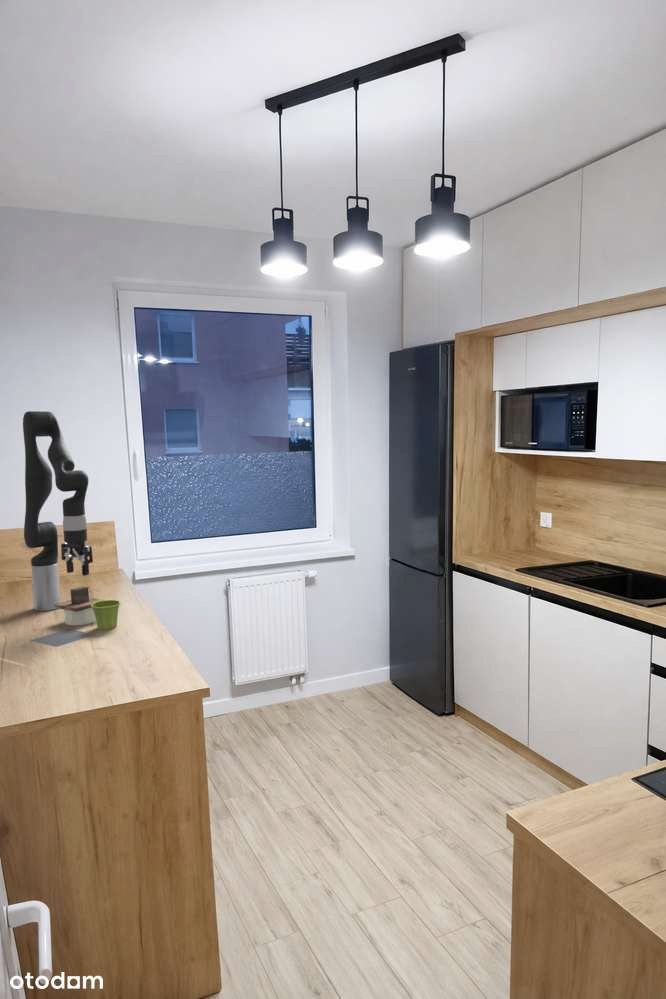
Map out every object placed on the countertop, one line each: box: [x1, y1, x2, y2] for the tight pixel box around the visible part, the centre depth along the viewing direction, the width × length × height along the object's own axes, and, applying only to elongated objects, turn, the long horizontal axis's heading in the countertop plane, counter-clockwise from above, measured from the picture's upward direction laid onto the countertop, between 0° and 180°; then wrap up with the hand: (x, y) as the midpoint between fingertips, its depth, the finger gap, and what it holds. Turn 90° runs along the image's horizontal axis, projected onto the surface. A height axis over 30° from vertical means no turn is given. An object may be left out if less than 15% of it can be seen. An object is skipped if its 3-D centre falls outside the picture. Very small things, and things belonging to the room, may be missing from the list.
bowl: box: [63, 608, 96, 626], centre depth 230 cm, size 10×10×6 cm
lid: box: [55, 585, 106, 612], centre depth 229 cm, size 12×12×6 cm
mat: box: [30, 628, 95, 648], centre depth 211 cm, size 14×14×1 cm
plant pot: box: [91, 599, 121, 631], centre depth 221 cm, size 9×9×9 cm
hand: (77, 573), depth 228 cm, fingers open, 8 cm apart
